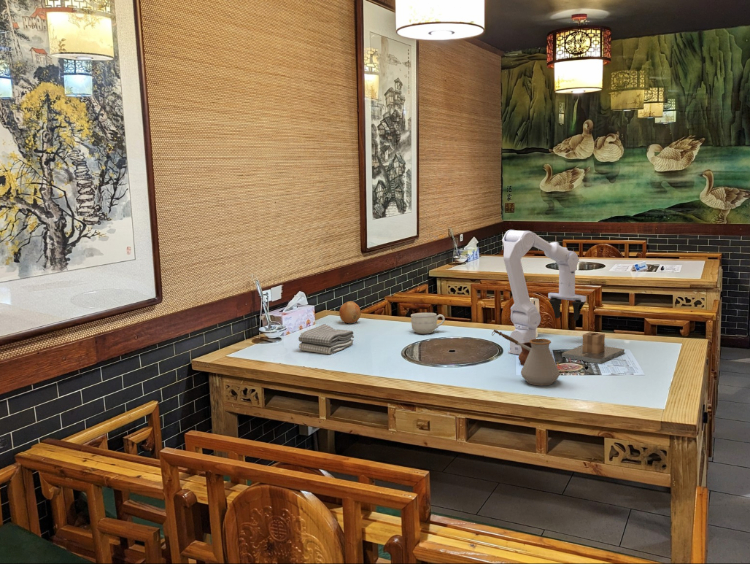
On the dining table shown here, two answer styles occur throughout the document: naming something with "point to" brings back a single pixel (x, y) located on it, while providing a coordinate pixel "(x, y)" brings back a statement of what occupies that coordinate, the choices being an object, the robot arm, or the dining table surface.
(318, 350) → the towel
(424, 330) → the teacup
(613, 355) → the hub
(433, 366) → the dining table surface
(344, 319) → the onion
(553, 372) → the coffee pot
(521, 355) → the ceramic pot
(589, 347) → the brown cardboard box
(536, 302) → the beer glass
